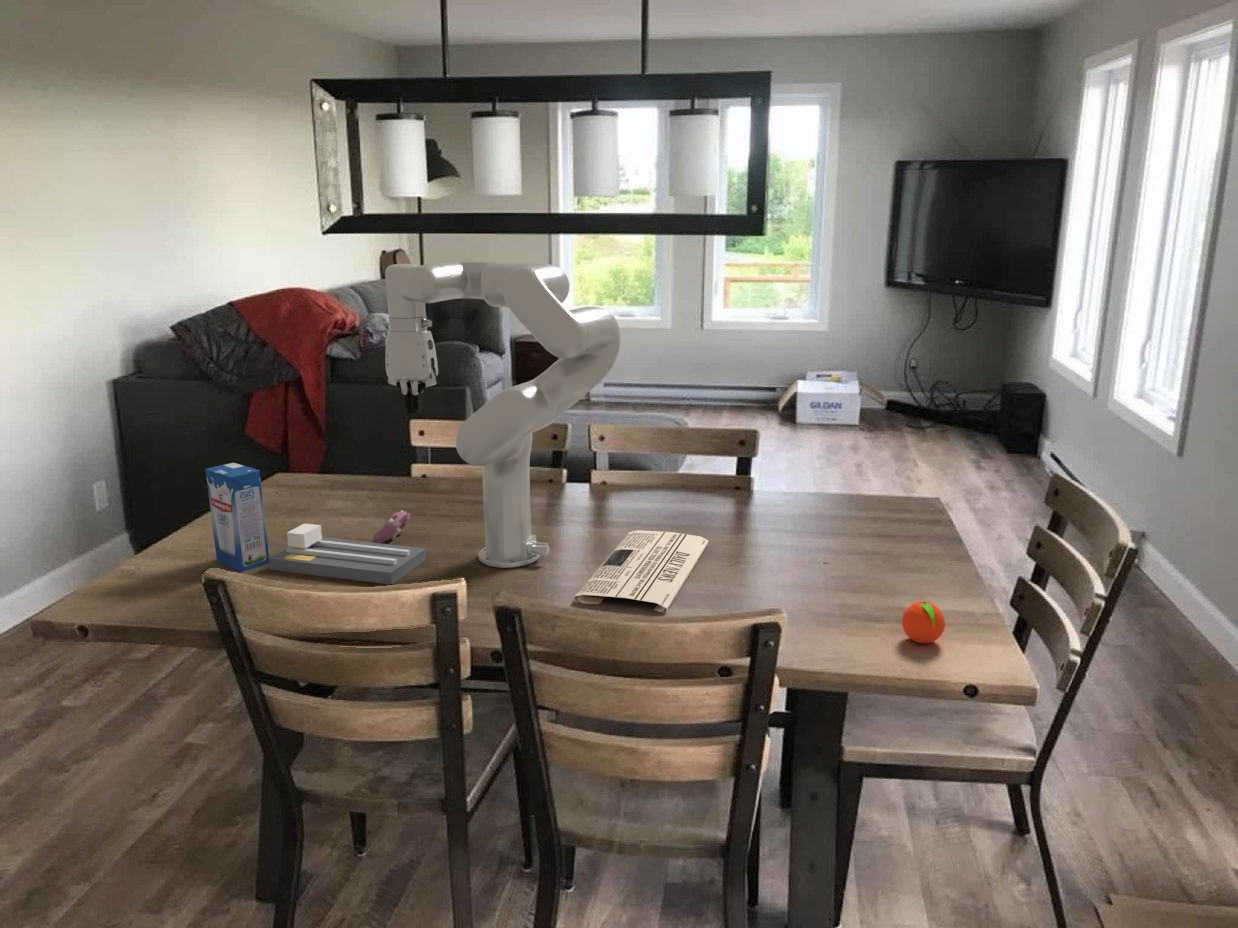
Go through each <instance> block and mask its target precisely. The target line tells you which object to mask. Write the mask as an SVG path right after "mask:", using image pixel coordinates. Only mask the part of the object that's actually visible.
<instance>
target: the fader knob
mask: <svg viewBox="0 0 1238 928" xmlns="http://www.w3.org/2000/svg"><path fill="white" fill-rule="evenodd" d="M286 536H287V546H288V547H297V548H308V547H310V545H312V544H314V543H316V542H317V541H319V540H321V539H322V537H323V534H322V525H321V524H313V523H305V522H304V523H303V524H301V525H298V526H297V527H294V528H293V529H291V530H289V531H288V532H286ZM288 547H287V548H288Z"/></svg>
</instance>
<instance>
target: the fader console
mask: <svg viewBox="0 0 1238 928" xmlns="http://www.w3.org/2000/svg"><path fill="white" fill-rule="evenodd" d="M425 561H427V548H424V547H416V546H406V545H398V544H388V543H375V542H372V541H371V542H370V541H361V540H351V539H343V538H334V537H327V536H326V537H324V536H322V539H321V540H319V541H317V542H316V543H314V544H312V545H310V547H308V548H297V547H286V548H285V549H283V550H281V551H280V552H279V551H278V553H276V554H275V553H274V555H271V556H269V564H268V565H269V570H270V571H276V572H286V573H293V574H301V575H308V576H309V575H310V576H318V577H325V578H333V579H334V578H335V579H343V580H350V581H359V582H366V583H373V584H374V583H375V584H383V585H390V584H392V585H394V584H395V583H396V582H397V581H399V580H401V579H402V578H403V577H405V576H406V575H407V574H409V573H411V572H412V571H414V569H416V568H417V567H419V566H420V565H422V564H423V563H424V562H425Z"/></svg>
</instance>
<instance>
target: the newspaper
mask: <svg viewBox="0 0 1238 928" xmlns="http://www.w3.org/2000/svg"><path fill="white" fill-rule="evenodd" d="M708 546H709V540H708V539H706V538H704V537H702V536H700V535H699V536H698V535H693V534H687V533H680V532H674V531H673V532H672V531H659V530H658V531H656V530H655V531H654V530H641V529H639V530H638V529H637V530H633V531H629V532H628V534H626V536H625V537H624V538H623V539H622V540H621V542H619V544H618V545H617V547H615V548H614V549H613V551H612V552H611V553H610V555H608V556H607V558H606V559H605V560H604V561H603V562H602V564H601V565H600V566H599V567H598V568H597V569H596V571H595V572H594V573H593V574H592V576H590V578H589V579H588V580H587V581H586V582H585V583H584V584H583V586H582V587H581V588H580V589H579V591H577V593H576V594H575V595H574V599H573V601H574V602H575V603H576V604H579V603H580V604H584V605H585V604H590V605H600V604H601V603H602V602H603V601H604V600H605V598H607V597H608V598H609V597H610V598H619V599H630V600H635V601H642V602H646V603H647V602H648V603H654V604H657V605H656V606H655V608H654V610H653V611H655V612H656V611H657V612H658V613H662V614H667V613H668V610H669V609H670V607H671V605H672V604H673V603H674V601H675V599H676V597H677V596H678V594H679V592H680V591H681V589H682V588H683V586H684V585H685V583H686V581H687V580H688V578H689V576H690V575H691V574H692V572H693V569H694V568H695V567H696V565H697V563H698V562H699V560H700V558H701V557H702V555H703V554H704V552H705V550H706V548H707V547H708Z"/></svg>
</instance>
